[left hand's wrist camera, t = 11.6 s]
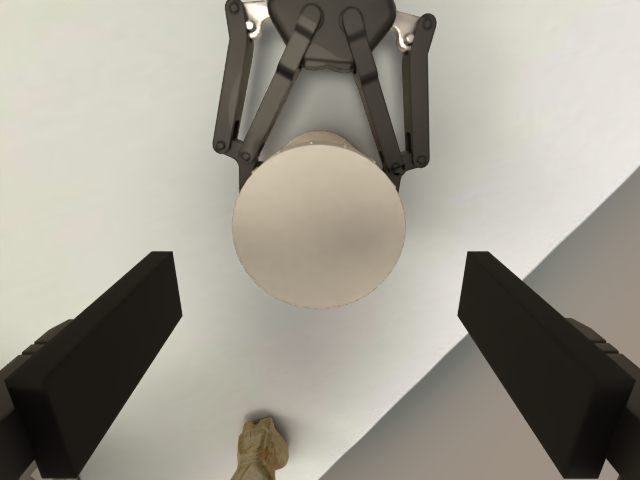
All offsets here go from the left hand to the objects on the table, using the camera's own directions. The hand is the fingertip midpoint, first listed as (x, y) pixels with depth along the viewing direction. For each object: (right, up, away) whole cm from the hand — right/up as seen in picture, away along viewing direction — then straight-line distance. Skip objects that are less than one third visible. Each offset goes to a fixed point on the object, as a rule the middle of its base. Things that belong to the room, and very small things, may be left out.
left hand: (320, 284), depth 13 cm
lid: (0, +2, +6) cm, 6 cm away
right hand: (0, +1, +16) cm, 16 cm away
